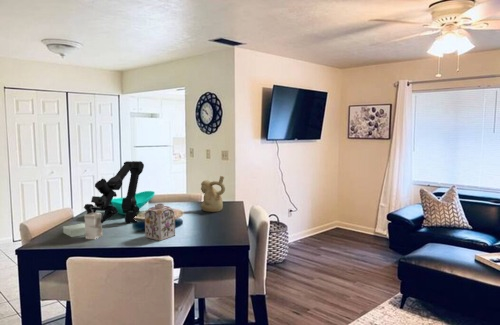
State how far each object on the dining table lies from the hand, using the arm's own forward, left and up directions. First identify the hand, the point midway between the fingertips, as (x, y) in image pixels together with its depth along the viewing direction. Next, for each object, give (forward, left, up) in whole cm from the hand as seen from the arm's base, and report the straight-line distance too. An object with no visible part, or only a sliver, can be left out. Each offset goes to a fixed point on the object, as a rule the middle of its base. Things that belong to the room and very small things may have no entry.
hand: (94, 222), depth 199 cm
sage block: (+8, -14, -9) cm, 18 cm away
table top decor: (-22, -53, -8) cm, 58 cm away
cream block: (0, 0, -8) cm, 8 cm away
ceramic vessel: (-79, -36, -8) cm, 87 cm away
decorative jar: (-33, +14, -8) cm, 37 cm away
